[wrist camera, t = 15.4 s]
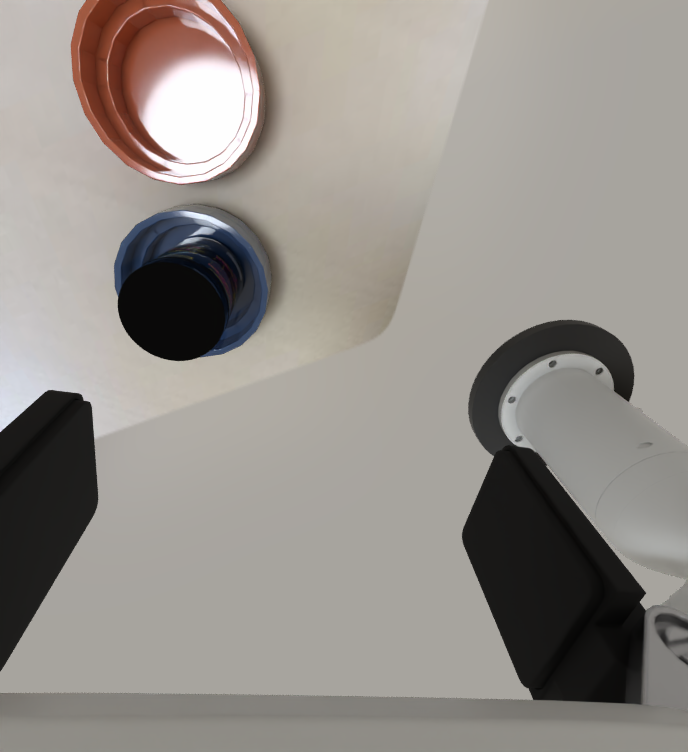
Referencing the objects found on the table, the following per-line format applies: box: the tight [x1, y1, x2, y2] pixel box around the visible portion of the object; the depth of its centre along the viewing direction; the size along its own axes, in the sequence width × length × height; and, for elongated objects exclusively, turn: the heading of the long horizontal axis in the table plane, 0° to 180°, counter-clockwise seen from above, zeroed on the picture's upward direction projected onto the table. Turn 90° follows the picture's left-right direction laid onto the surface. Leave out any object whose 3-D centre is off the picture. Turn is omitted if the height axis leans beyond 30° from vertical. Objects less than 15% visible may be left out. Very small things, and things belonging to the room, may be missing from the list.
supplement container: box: [118, 237, 243, 361], centre depth 32 cm, size 7×7×10 cm
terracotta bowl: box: [71, 0, 266, 185], centre depth 29 cm, size 11×11×5 cm
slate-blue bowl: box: [114, 204, 272, 357], centre depth 35 cm, size 11×11×5 cm
